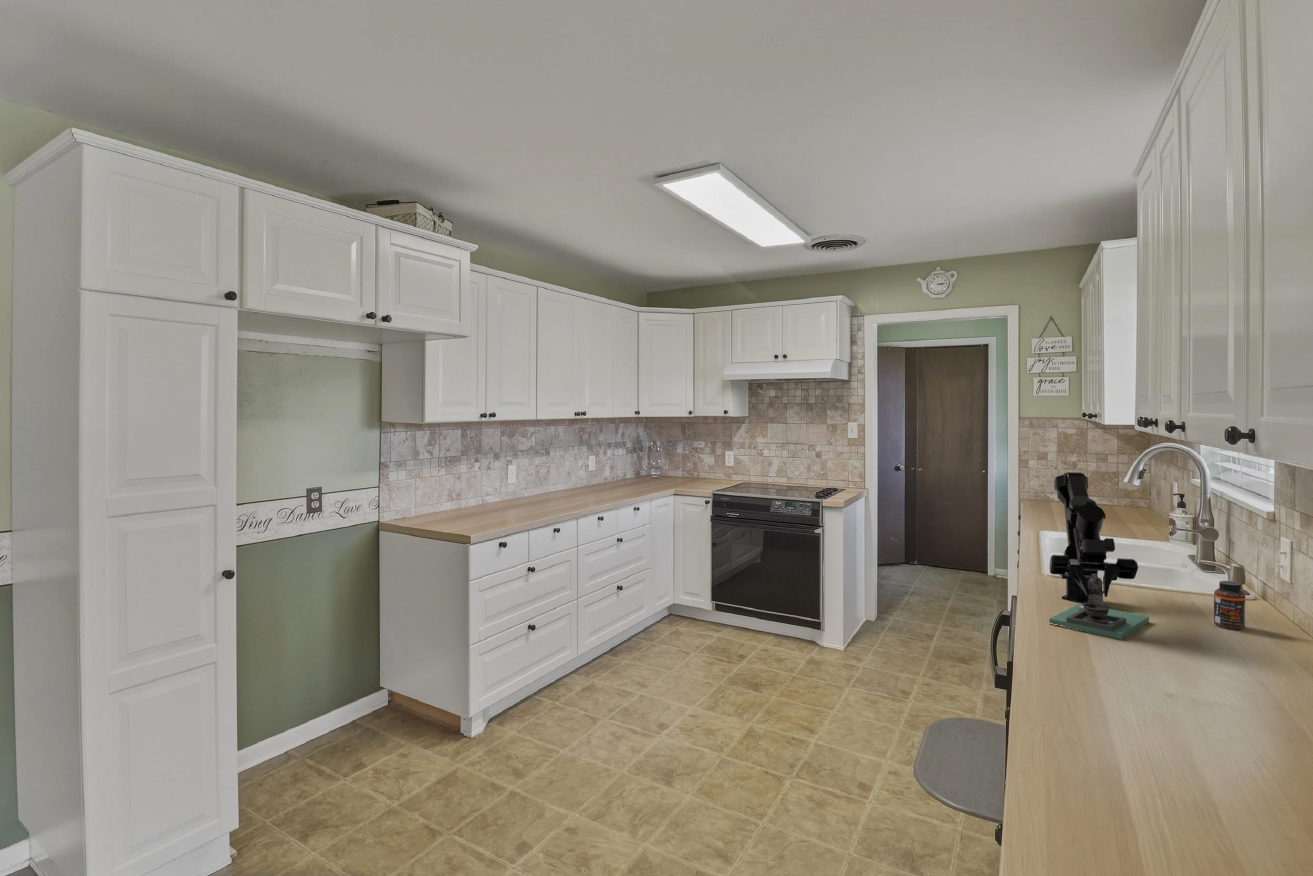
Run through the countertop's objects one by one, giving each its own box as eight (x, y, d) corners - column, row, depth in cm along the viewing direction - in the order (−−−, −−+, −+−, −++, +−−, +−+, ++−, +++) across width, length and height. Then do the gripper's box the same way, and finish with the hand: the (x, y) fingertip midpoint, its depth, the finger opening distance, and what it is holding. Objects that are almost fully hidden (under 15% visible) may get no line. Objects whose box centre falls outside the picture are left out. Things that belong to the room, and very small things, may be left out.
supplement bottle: (1217, 629, 161) (1217, 584, 161) (1210, 622, 167) (1210, 578, 166) (1249, 632, 159) (1248, 586, 158) (1240, 624, 164) (1240, 580, 163)
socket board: (1079, 608, 180) (1079, 599, 180) (1149, 622, 168) (1148, 612, 168) (1049, 624, 168) (1049, 614, 168) (1121, 640, 156) (1121, 629, 155)
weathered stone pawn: (1108, 617, 165) (1107, 571, 165) (1112, 624, 160) (1111, 577, 160) (1081, 615, 168) (1080, 569, 168) (1083, 622, 163) (1082, 575, 163)
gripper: (1050, 524, 171) (1056, 576, 161) (1136, 528, 163) (1148, 582, 153) (1046, 548, 178) (1052, 598, 169) (1128, 552, 170) (1139, 605, 161)
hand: (1096, 595), depth 163 cm, fingers closed on weathered stone pawn, 4 cm apart
